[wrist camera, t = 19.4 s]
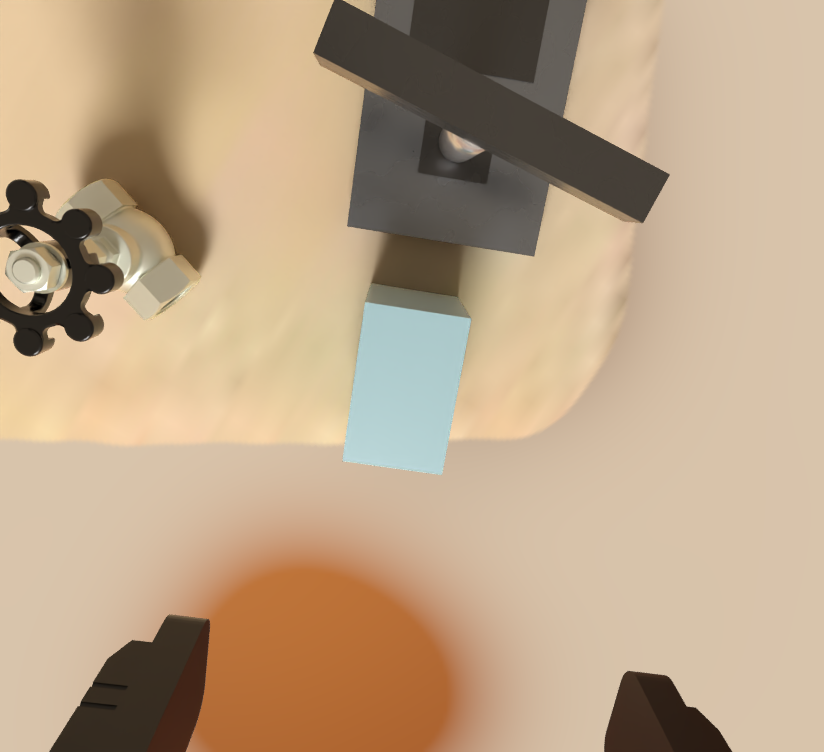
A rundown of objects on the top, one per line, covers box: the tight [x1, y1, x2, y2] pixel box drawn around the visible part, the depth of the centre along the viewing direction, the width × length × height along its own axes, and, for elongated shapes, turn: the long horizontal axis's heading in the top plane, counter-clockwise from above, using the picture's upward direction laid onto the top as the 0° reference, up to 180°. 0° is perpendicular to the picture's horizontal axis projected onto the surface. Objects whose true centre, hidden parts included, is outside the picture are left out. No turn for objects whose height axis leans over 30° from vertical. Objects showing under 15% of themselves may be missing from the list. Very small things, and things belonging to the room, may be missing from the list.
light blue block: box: [343, 283, 471, 475], centre depth 34 cm, size 5×8×7 cm, turn 171°
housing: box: [347, 0, 587, 256], centre depth 32 cm, size 10×18×2 cm, turn 171°
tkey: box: [313, 0, 669, 223], centre depth 27 cm, size 2×12×11 cm, turn 64°
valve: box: [0, 179, 201, 356], centre depth 30 cm, size 7×7×12 cm
